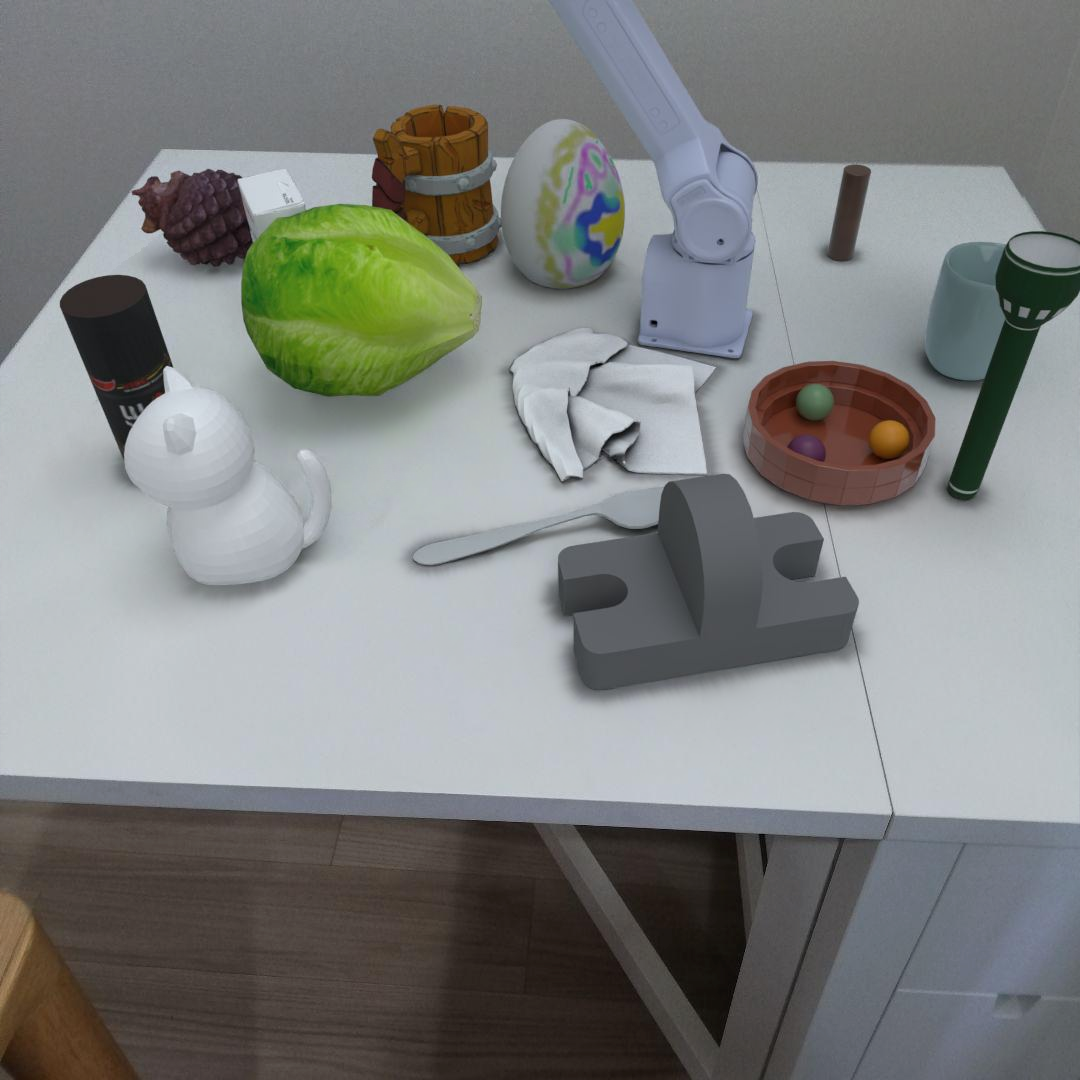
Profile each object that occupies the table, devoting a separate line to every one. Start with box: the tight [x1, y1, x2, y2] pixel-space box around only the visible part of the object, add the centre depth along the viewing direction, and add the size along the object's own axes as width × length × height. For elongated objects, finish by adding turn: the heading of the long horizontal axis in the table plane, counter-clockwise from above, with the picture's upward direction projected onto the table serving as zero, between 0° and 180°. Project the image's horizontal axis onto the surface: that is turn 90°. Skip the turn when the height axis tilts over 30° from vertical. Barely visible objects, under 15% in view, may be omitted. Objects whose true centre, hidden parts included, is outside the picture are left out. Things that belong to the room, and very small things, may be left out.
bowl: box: [742, 360, 936, 506], centre depth 77 cm, size 14×14×4 cm
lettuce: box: [240, 203, 483, 398], centre depth 82 cm, size 17×20×15 cm
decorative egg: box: [500, 118, 626, 289], centre depth 95 cm, size 12×12×15 cm
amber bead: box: [869, 420, 909, 459], centre depth 76 cm, size 3×3×3 cm
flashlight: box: [947, 230, 1080, 501], centre depth 68 cm, size 5×5×20 cm
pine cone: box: [131, 168, 253, 268], centre depth 102 cm, size 18×10×10 cm
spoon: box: [412, 486, 664, 566], centre depth 72 cm, size 4×21×2 cm, turn 104°
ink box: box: [238, 168, 307, 243], centre depth 93 cm, size 8×5×12 cm, turn 23°
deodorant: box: [59, 274, 175, 463], centre depth 75 cm, size 6×6×15 cm
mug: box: [371, 104, 502, 266], centre depth 99 cm, size 11×16×15 cm, turn 148°
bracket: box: [557, 473, 860, 691], centre depth 63 cm, size 10×18×11 cm, turn 101°
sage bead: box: [796, 384, 834, 421], centre depth 80 cm, size 3×3×3 cm
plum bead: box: [787, 434, 826, 462], centre depth 75 cm, size 3×3×3 cm
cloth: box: [508, 327, 717, 482], centre depth 82 cm, size 20×22×2 cm
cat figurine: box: [123, 366, 333, 586], centre depth 66 cm, size 9×12×15 cm
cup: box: [924, 241, 1007, 382], centre depth 83 cm, size 8×8×10 cm
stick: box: [826, 163, 872, 262], centre depth 98 cm, size 3×3×9 cm
